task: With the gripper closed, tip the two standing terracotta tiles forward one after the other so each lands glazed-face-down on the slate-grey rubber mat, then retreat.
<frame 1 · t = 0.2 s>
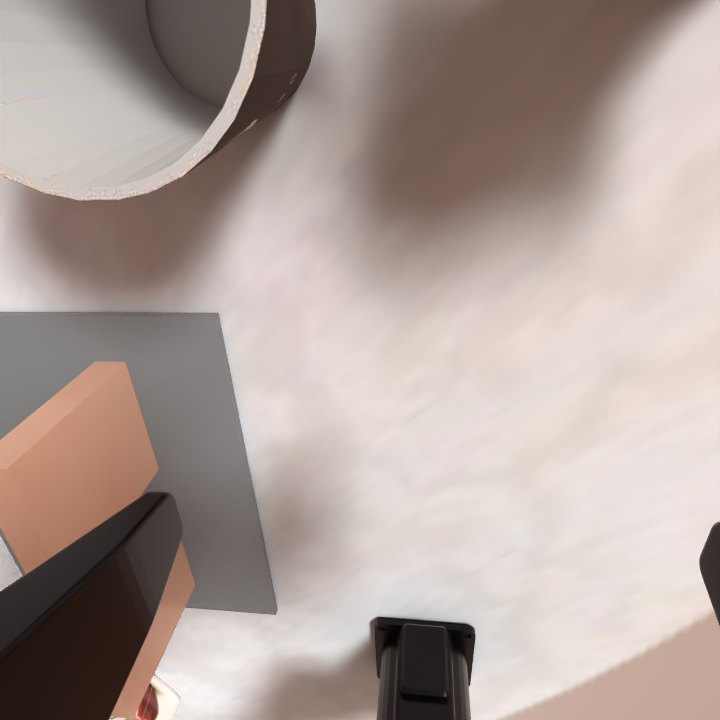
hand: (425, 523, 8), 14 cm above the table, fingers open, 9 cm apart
tile a: (171, 547, 31), resting on mat
coffee mug: (271, 26, 18), on the table
tile b: (129, 418, 26), resting on mat
juice carton: (131, 677, 41), on the table
mat: (108, 481, 29), on the table
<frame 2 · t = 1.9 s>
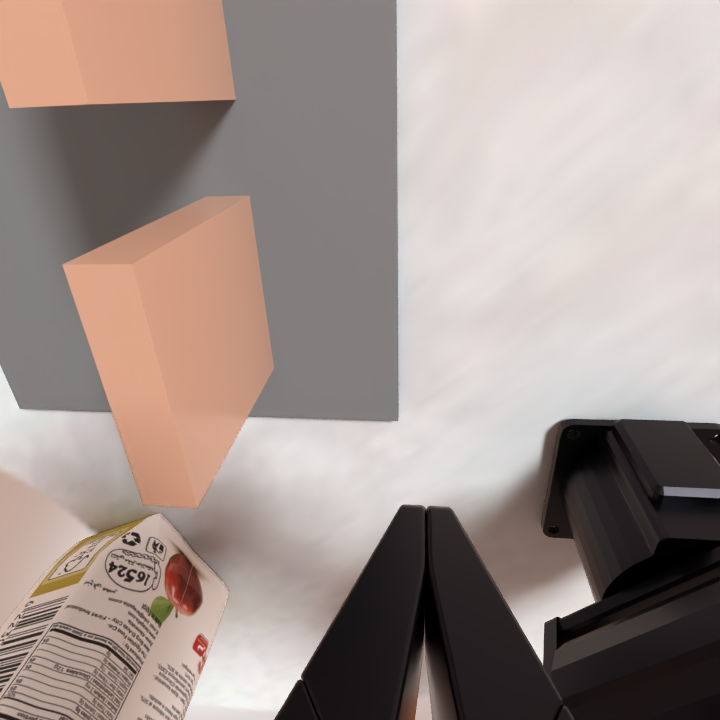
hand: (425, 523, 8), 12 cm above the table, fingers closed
tile a: (243, 289, 19), resting on mat
juice carton: (159, 561, 29), on the table
mat: (143, 152, 17), on the table
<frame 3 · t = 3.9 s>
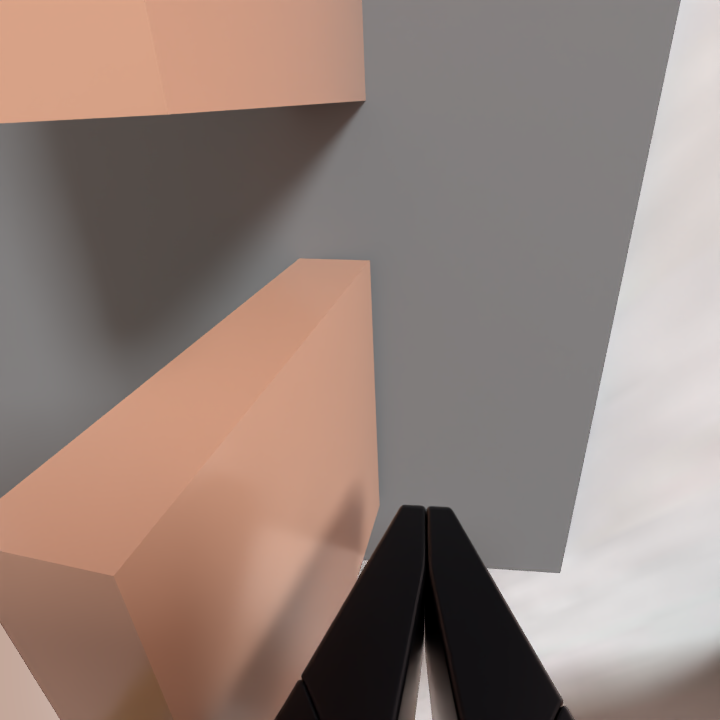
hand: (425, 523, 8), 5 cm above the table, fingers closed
tile a: (344, 396, 12), point 1 cm above the table, tilted 8°, touching mat
mat: (198, 187, 11), on the table
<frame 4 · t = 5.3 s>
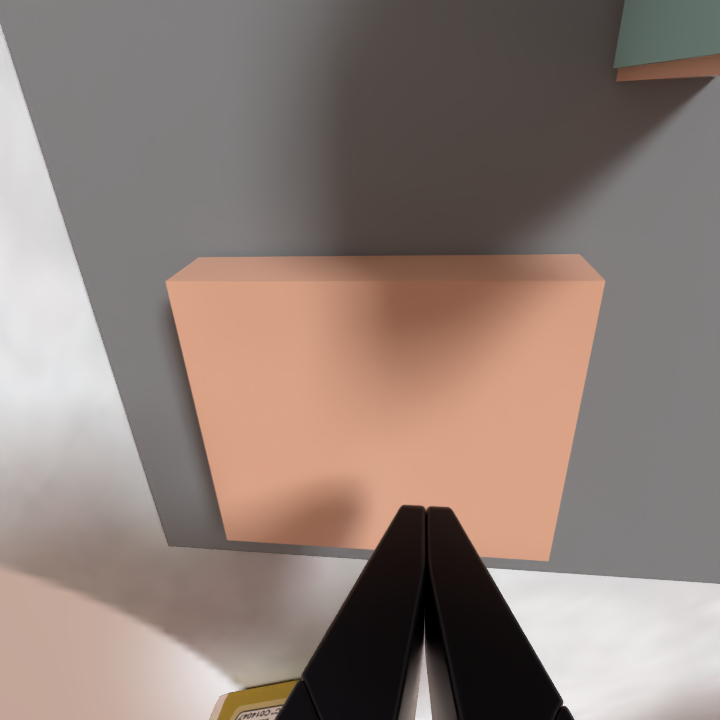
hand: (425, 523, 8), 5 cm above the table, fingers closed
tile a: (562, 421, 11), point 1 cm above the table, tilted 90°, touching mat
mat: (478, 173, 10), on the table
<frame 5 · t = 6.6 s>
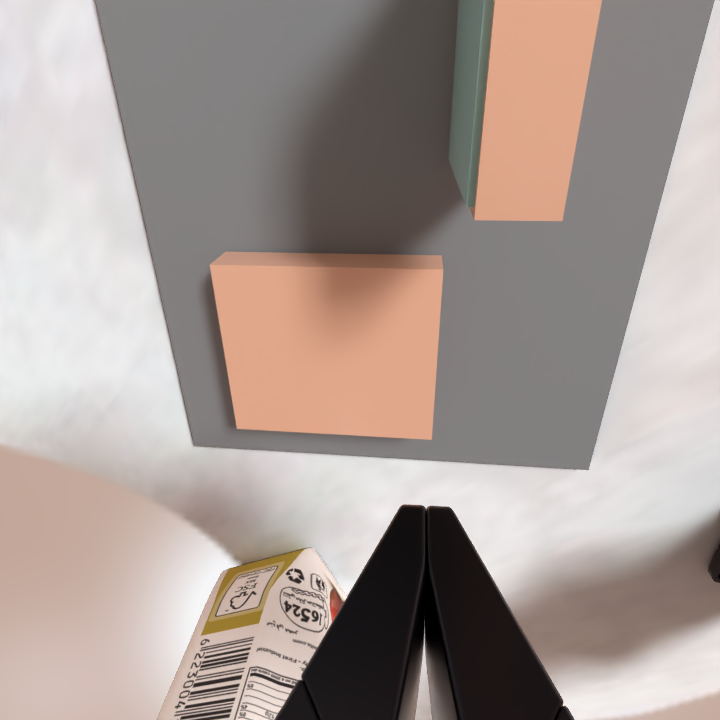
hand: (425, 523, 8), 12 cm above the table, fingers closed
tile a: (436, 352, 19), point 1 cm above the table, tilted 90°, touching mat
tile b: (488, 38, 14), resting on mat
juice carton: (297, 592, 29), on the table
mat: (385, 208, 18), on the table
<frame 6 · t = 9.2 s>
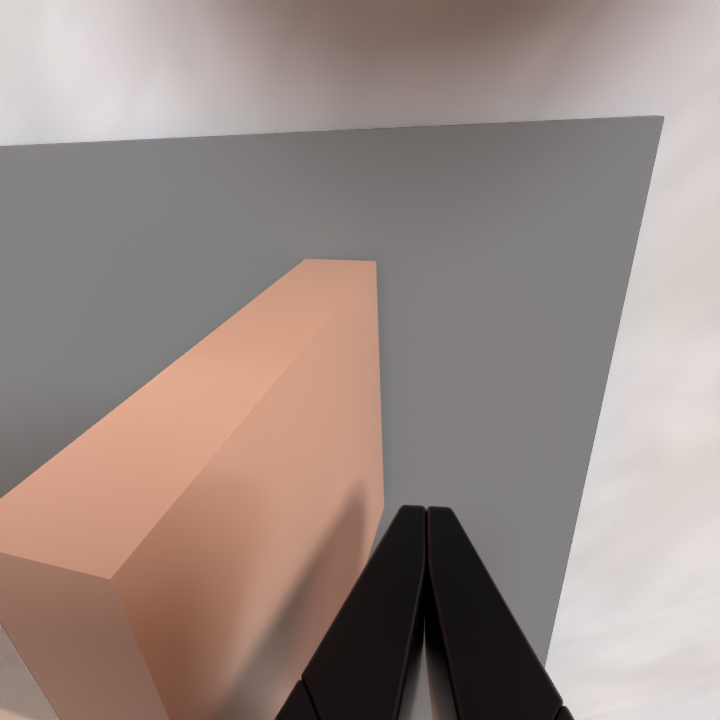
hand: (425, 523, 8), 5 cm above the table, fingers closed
tile b: (349, 397, 12), point 1 cm above the table, tilted 9°, touching gripper, mat
mat: (266, 521, 15), on the table
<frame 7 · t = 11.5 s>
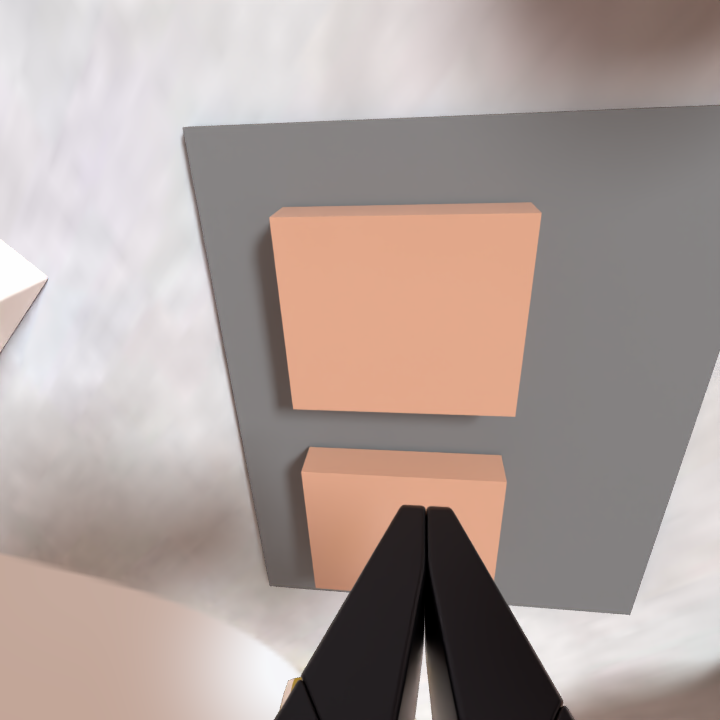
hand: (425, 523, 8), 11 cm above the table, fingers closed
tile a: (496, 531, 21), point 1 cm above the table, tilted 90°, touching mat
tile b: (522, 315, 16), point 1 cm above the table, tilted 90°, touching mat
mat: (451, 415, 20), on the table
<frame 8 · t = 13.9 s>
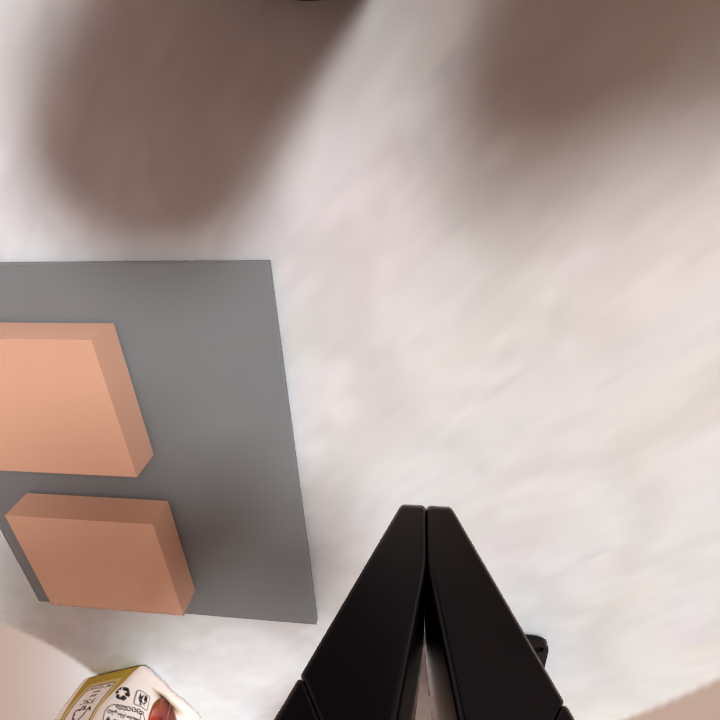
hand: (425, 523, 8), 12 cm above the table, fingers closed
tile a: (175, 560, 26), point 1 cm above the table, tilted 90°, touching mat
tile b: (125, 403, 22), point 1 cm above the table, tilted 90°, touching mat
juice carton: (145, 693, 37), on the table
mat: (128, 469, 25), on the table
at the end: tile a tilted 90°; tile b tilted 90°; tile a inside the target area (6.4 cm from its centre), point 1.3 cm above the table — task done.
